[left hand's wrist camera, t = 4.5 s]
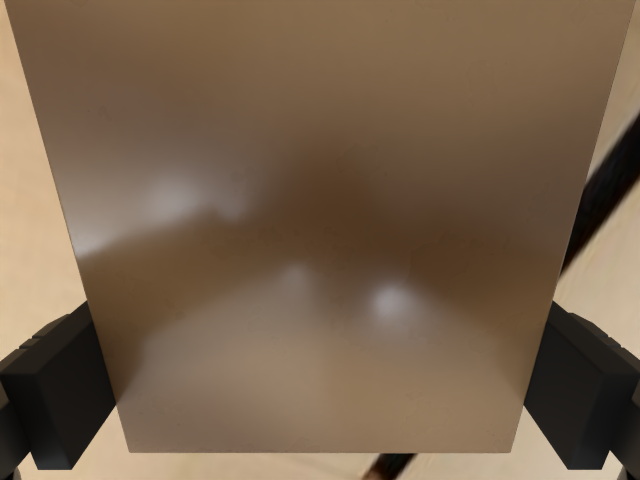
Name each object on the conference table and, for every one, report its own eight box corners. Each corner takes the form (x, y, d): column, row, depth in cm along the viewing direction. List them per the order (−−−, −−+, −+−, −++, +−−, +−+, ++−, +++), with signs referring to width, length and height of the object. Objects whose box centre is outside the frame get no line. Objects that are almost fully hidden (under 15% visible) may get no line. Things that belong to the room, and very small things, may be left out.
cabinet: (184, -97, 14) (-175, -637, 4) (455, -97, 14) (813, -637, 4) (225, 279, 20) (128, 453, 10) (414, 279, 20) (510, 454, 10)
